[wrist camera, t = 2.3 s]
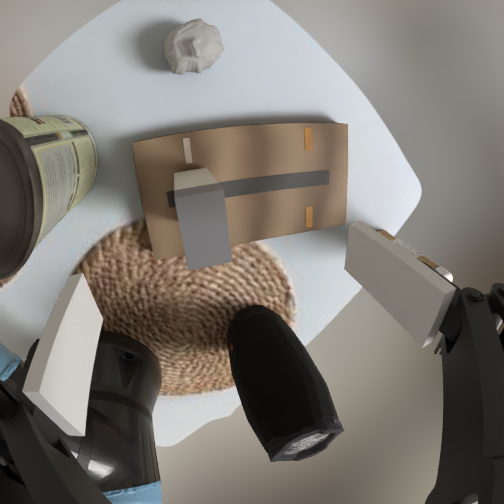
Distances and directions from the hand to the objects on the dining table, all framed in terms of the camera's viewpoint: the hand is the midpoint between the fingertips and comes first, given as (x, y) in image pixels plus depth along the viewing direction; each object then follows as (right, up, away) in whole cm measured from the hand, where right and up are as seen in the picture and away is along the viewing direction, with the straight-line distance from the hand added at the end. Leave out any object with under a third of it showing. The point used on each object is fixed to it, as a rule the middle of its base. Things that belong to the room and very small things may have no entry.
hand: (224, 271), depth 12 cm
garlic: (-5, +20, +8) cm, 22 cm away
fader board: (+1, +8, +16) cm, 18 cm away
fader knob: (-4, +6, +12) cm, 14 cm away
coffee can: (-19, +10, +9) cm, 23 cm away
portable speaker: (+1, -9, +25) cm, 27 cm away
